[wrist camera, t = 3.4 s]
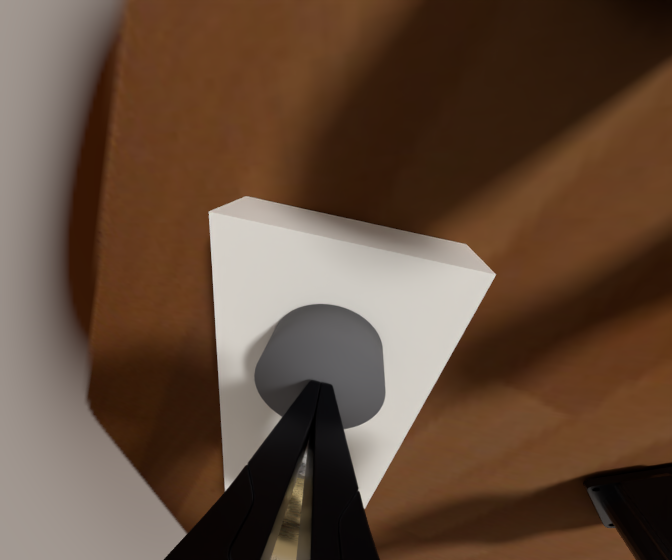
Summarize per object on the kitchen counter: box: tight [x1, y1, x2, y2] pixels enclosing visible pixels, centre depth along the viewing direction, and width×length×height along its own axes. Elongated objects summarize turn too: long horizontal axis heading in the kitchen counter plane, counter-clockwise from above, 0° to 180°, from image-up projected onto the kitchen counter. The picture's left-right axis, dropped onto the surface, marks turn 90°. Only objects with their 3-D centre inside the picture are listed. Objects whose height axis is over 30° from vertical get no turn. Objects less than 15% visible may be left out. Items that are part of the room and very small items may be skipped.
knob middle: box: [270, 441, 309, 560], centre depth 13 cm, size 5×5×5 cm
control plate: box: [209, 196, 496, 509], centre depth 16 cm, size 26×10×3 cm, turn 169°
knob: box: [254, 304, 386, 429], centre depth 11 cm, size 5×5×5 cm
